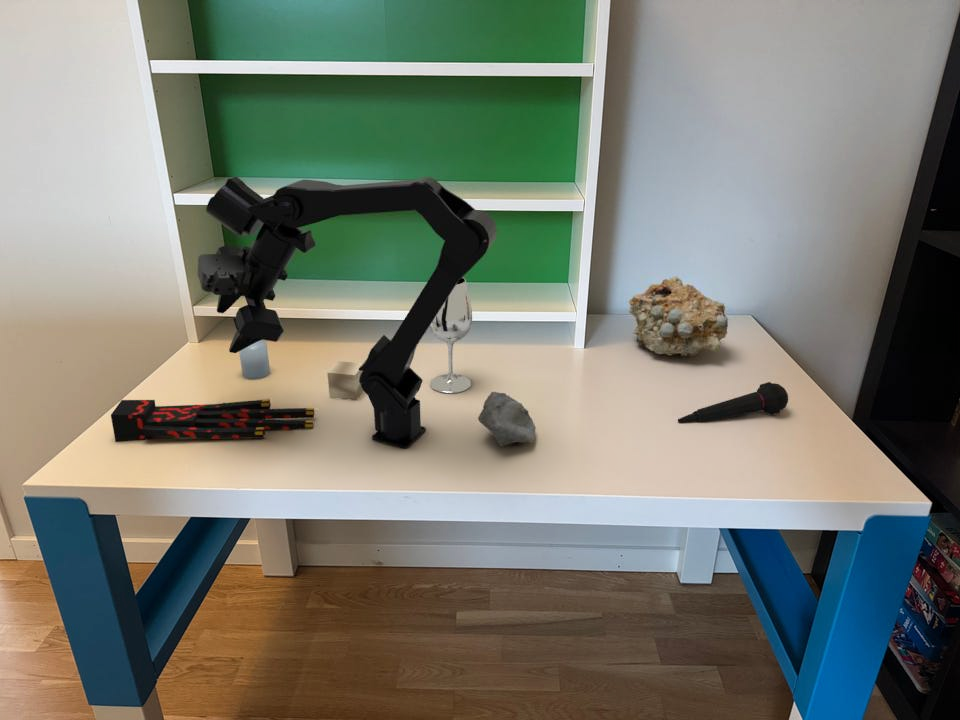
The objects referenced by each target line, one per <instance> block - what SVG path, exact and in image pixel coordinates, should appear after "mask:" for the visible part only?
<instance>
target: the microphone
mask: <svg viewBox="0 0 960 720" xmlns="http://www.w3.org/2000/svg"><path fill="white" fill-rule="evenodd" d="M788 403H789V394H788V392H787V390H786V389H785V387H783V386H782V385H781V384H779V383H774V382H773V383H772V382H771V381H768V382H764V383H761V384H759V387H758V388H757V390H756V391H754V392H751V393H747V394H744V395H741V396H737V397H734V398H732V399H728V400H725V401H722V402H718V403H714V404H712V405H711V404H710V405H708V406H705V407H701V408H698V409H697V410H695V411H693V412H692V413H690V414H686V415H685V416H682V417H679V418H678V419H677V422H678V424H681V423H692V422H697V423H699V422H702V423H703V422H704V423H705V422H709V421H715V420H716V421H717V420H721V419H726V418H731V417H736V416H741V415H748V414H751V413H752V414H753V413H758V412H764V413H766V414H769V415H771V416H772V415H777V414H780V413H781V411H782V410H784V409H785V408H786V407H787V405H788Z"/></svg>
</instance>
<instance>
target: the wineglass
mask: <svg viewBox="0 0 960 720" xmlns="http://www.w3.org/2000/svg"><path fill="white" fill-rule="evenodd" d="M468 289H469V288H468V284H467V280H466V279H465V278H464V277H462V278H461V279H460V280H459V281H458V283H457V284H456V286H455V287H454V289H453V290H452V292H451V294H450V295H449V297H448V298H447V300H446V301H445V303H444V304H443V306H442V307H441V309H440V311H439V312H438V314H437V315H436V317H435V318H434V320H433V321H432V323H431V324H430V326H429V329H430V331H431V333H432V334H433V335H434V336H435V337H436V338H437V339H439V341H440V340H441V342H444V343H446V345H447V351H448V371H447V372H448V373H447V374H441V375H438V376H436V377H434V378H432V379H431V380H430V382H429V384H430V388H431V389H433V390H434V391H436V392H439V393H443V394H458V393H462V392H464V391H465V392H466V391H467V390H468V389H470V387H471V386H472V381H471V380H470V378H468V377H467V376H465V375H461V374H454V373H453V371H454V370H453V350H454V349H453V348H454V343H456V342H458V341H460V340H462V339H463V338H465V337H466V336H467V335H468V333H469V332H470V330H471V327H472V325H473V310H472V303H471V297H470V293H469V290H468Z"/></svg>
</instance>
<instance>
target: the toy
mask: <svg viewBox="0 0 960 720" xmlns="http://www.w3.org/2000/svg"><path fill="white" fill-rule="evenodd" d="M155 401H156V400H155V399H121V400H120V402H119V403H118V404H117V405H116V407H115V409H114V410H113V411H112V412H111V414H110V418H111V425H112V430H113V435H114V442H115V443H118V442H119V443H120V442H121V443H123V442H139V441H140V442H141V441H142V442H143V441H150V439H151V437H153V438H155V437H156V438H178V439H181V438H182V439H200V440H201V439H202V440H205V439H207V440H209V439H211V440H212V439H213V440H216V439H218V440H219V439H220V440H221V439H264V438H265V435H266V431H265V430H269V431H270V430H272V431H278V430H279V431H292V430H293V431H294V430H295V431H296V430H308V429H309V430H310V429H311V430H312V429H313V428H314V420H305V419H314V418H315V407H301V408H299V407H297V408H296V407H295V408H293V407H292V408H289V407H288V408H271V400H270V398H267V399H256V400H243V401H235V402H234V401H231V402H223V403H221V402H220V403H215V404H214V403H211V404H209V403H208V404H187V405H185V404H183V405H180V404H179V405H166V406H165V405H161V406H160V405H159V406H157V405H156V402H155ZM300 419H304V420H300Z"/></svg>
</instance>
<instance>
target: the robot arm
mask: <svg viewBox="0 0 960 720" xmlns="http://www.w3.org/2000/svg"><path fill="white" fill-rule="evenodd" d="M205 210H206V211H205V212H206V214H207V215H209V216H211V217H212V218H213V219H214V220H216V221H217V222H218V223H220V224H221V225H222V226H224V227H225V228H227V229H228V230H230V231H231V232H232V233H233V234H235V235H236V236H237V237H240V238H243V237H244V236H246V235H248V236H249V237H252V236H254V235H255V234H256V233H257V232H258V233H257V234H256V236H255V239H254V240H253V242H252V243H251V246H250V247H248V246H246V245H244V246H243V248H240V247H236V246H233V245H230V244H225V245H223V246H220V247H218V249H217V251H216V252H215V254H214V253H208V254H207V253H206V254H204V253H203V254H200V255H198V259H197V278H198V280H199V284H200V288H201V289H202V291H204V292H206V293H212V294H214V295H215V296H218V300H217V306H216V312H217V313H218V314H225V312H227V311H228V310H229V309H231V307H232V306H233V305H234V304H235V303H236V302H237V301H238V300H239V299H240V298H241V297H244V298H245V301H246V304H247V305H244V306H242V307H239V308H238V310H237V312H236V314H235V317H233V318H232V320H233V323H234V326H235V333H234V335H233V338H232V340H231V343H230V345H229V347H228V348H229V349H228V351H229V353H232V354H237V353H239V351H241V350H243V349H244V348H246V347H248V346H250V345H252V344H254V343H256V342H258V341H260V340H264V341H270V342H275V343H277V342H278V341H279V340H280V338H281V337H282V335H283V333H285V331H284V327H283V325H282V322H281V319H280V317H279V314H278V312H277V311H276V310H274V309H270V308H267V307H266V304H265V300H267V301H272V302H273V301H274V300H275V299H276V293H275V291H274V289H275V287H276V285H277V283H278V282H279V280H280V281H284V282H285V281H286V280H287V278H288V273H287V271H286V268H287V266H288V264H289V263H290V261H291V260H292V258H293V256H295V253H296V251H297V249H298V250H299V251H300V252H302V253H304V254H305V253H307V252H309V251H311V250H312V249H314V248H315V247H316V246H317V245H316V241H315V239H314V237H313V234H312V230H311V229H308V230H302V229H301V228H302V227H306V226H309V225H313V224H316V223H319V222H322V221H325V220H329V219H332V218H336V217H339V216H349V215H351V216H353V215H365V214H366V215H367V214H377V213H378V214H380V213H393V212H395V213H396V212H407V211H416V212H417V213H418V214H419V215H420V216H421V217H423V219H424V220H425V221H426V222H427V224H428V225H429V226H430V228H431V229H432V231H434V233H435V234H436V235H437V236H439V237H440V238H441V239H442V240H443V241H444V243H443V245H442V248H441V250H440V253H439V257H438V260H437V265H436V267H435V269H434V270H433V272H432V274H431V275H430V277H429V279H428V280H427V282H426V284H425V285H424V287H422V290H421V292H420V293H419V295H418V297H417V298H416V300H415V302H414V303H413V305H412V306H411V307H410V308H409V311H408V313H407V314H406V315H405V317H404V319H403V320H402V323H401V324H400V325H399V327H398V328H397V330H396V332H395V334H394V335H393V337H392V338H391V339H390V338H388V337H387V336H386V335H385V334H383V335H382V336H381V337H380V338H379V339H378V340H377V342H376V343H375V344H374V345H373V346H372V348H370V350H369V353H368V355H367V358H366V360H365V361H363V362H362V363H363V364H362V365H361V366H360V368H359V370H360V371H363V372H362V373H361V375H360V378H359V383H360V384H361V387H362V389H363V390H364V391H363V393H364V394H366V395H367V396H368V398H369V401H370V403H371V406H372V408H373V417H374V419H373V420H374V430H375V431H376V432H374V434H373V435H371V440H372V441H376V442H380V443H383V444H387V445H391V446H394V447H398V448H401V449H407V448H409V447H411V446H412V445H413V443H414V442H416V441H417V440H418V439H419V438H420V437H421V436H422V435H423V434H424V433H425V432H426V431H427V428H426V427H425V426H422V425H421V424H422V423H421V400H420V399H417V398H416V396H417V395H416V394H417V393H418V392H419V391H420V389H421V386H422V384H423V381H424V380H423V379H422V378H421V377H420V375H418V374H417V373H416V372H415V371H414V370H413V369H412V368H411V364H412V362H413V360H414V355H415V352H416V349H417V347H418V345H419V343H420V342H421V340H422V338H423V337H424V335H425V334H426V332H427V331H428V329H430V327H429V326H430V324H431V323H432V321H433V320H434V318H435V317H436V315H437V314H438V312H439V311H440V309H441V307H442V306H443V304H444V303H445V301H446V300H447V298H448V297H449V295H450V294H451V292H452V290H453V289H454V287H455V286H456V284H457V283H458V281H459V280H460V279H461V278H464V276H466V274H468V272H469V271H471V269H473V268H474V266H475V265H476V264H478V263H479V261H480V260H481V259H482V258H483V257H484V256H485V255H486V253H487V252H488V251H489V249H490V247H492V245H493V243H494V242H495V241H496V238H497V234H498V229H497V224H496V222H495V220H494V219H493V217H492V216H491V215H490V213H487V212H485V211H483V210H481V209H475V207H473V206H472V205H471V204H469V202H467V201H466V200H464V199H463V198H461V197H460V196H458V195H456V194H455V193H453V192H451V191H450V190H449V189H446V187H444V185H442V184H441V183H439V182H438V181H437V179H435V178H434V177H431V176H424V177H423V176H422V177H421V178H418V179H408V180H407V179H405V180H395V181H392V180H391V181H383V182H381V181H380V182H370V183H359V184H345V185H342V184H335V183H332V182H329V181H324V180H323V181H321V180H314V179H302V180H301V179H300V180H298V181H295V182H291V183H290V184H287V185H285V186H282V187H280V188H278V189H276V190H275V193H274V194H273V195H269V196H268V197H265V198H264V197H263V196H261V195H260V194H259V193H258V192H256V191H255V190H253V189H252V188H251V187H249V186H248V185H247V184H246V183H245V182H244V181H243V180H241V178H239V177H238V176H233V177H230V178H227V180H226V182H225V184H224V185H222V186H221V187H220V188H219V189H218V190H217V192H216V193H215V194H214V195H213V196H212V197H211V198H209V200H208V203H207V205H206V208H205Z"/></svg>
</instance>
